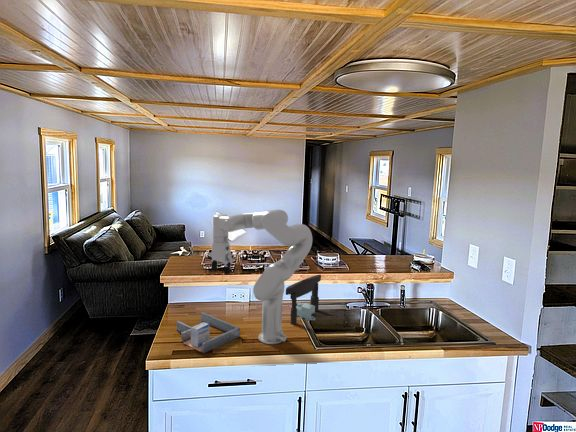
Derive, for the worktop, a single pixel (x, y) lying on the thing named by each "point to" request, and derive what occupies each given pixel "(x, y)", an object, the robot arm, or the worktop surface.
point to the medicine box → (199, 334)
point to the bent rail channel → (208, 345)
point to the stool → (300, 290)
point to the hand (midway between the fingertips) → (220, 271)
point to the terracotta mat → (193, 346)
